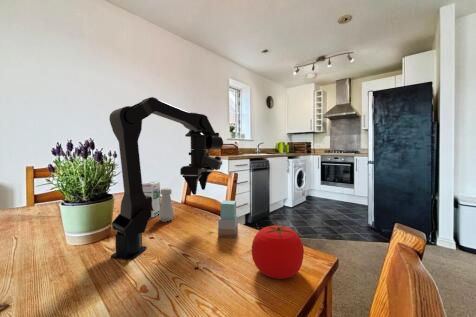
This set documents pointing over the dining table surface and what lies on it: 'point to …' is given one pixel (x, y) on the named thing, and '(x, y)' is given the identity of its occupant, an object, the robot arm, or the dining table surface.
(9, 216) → the dining table surface
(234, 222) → the tower upper
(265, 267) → the tomato
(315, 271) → the dining table surface
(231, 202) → the teal block
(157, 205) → the syrup box
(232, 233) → the tower lower
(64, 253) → the dining table surface
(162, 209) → the salt shaker
